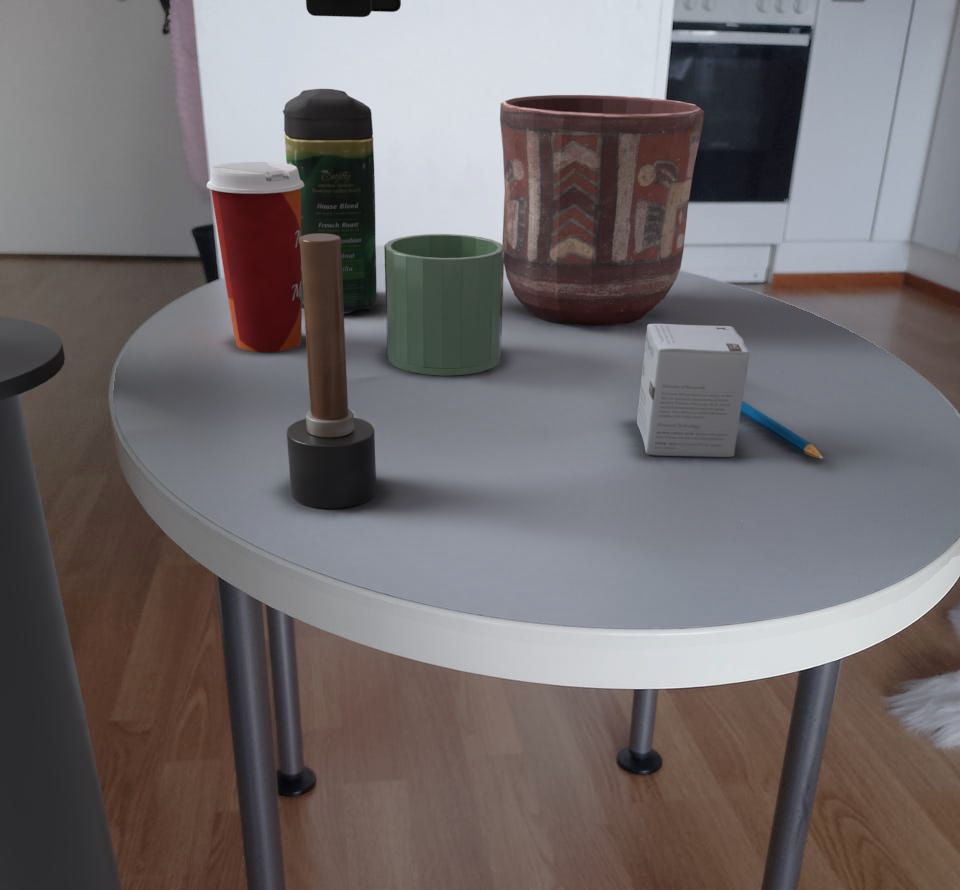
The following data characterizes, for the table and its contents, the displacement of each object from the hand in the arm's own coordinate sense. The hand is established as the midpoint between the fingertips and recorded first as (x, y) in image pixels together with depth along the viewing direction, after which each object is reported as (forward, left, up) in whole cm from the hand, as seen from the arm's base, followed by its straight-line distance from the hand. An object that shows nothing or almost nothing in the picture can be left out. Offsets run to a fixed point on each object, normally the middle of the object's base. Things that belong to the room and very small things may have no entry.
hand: (357, 13), depth 58 cm
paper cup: (+2, +28, -26) cm, 38 cm away
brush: (-4, -4, -26) cm, 26 cm away
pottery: (+33, +26, -26) cm, 49 cm away
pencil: (+28, -5, -26) cm, 38 cm away
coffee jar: (+12, +38, -26) cm, 47 cm away
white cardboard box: (+21, -6, -26) cm, 34 cm away
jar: (+14, +18, -26) cm, 34 cm away
